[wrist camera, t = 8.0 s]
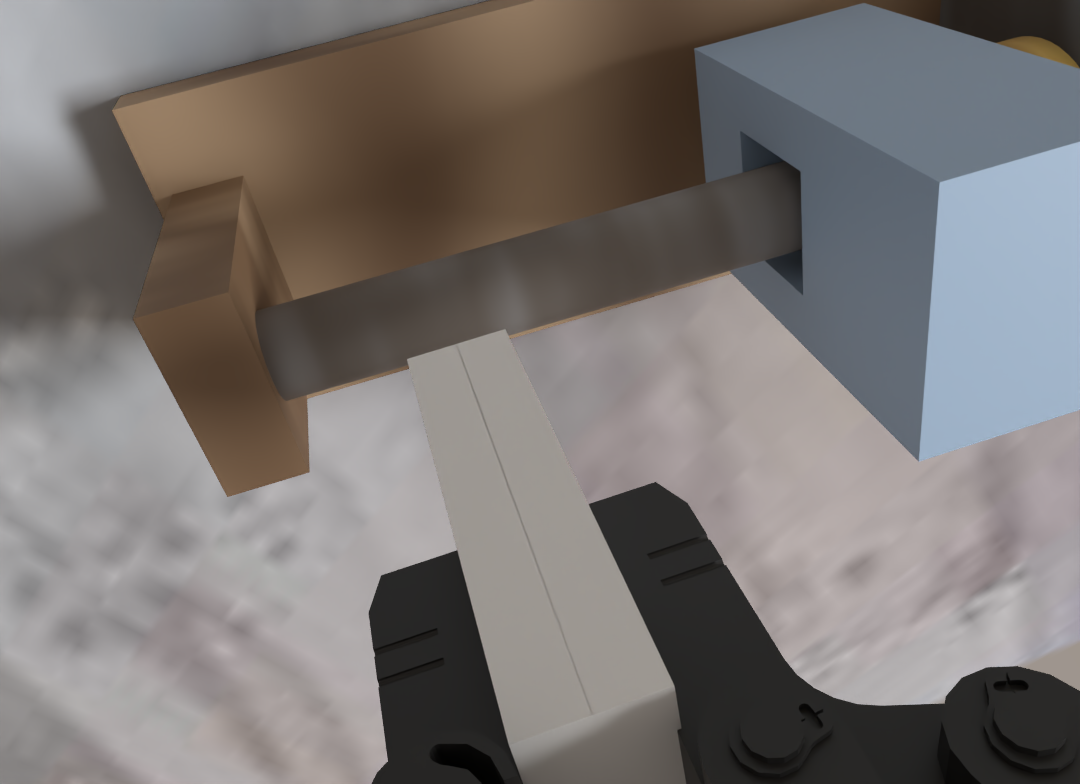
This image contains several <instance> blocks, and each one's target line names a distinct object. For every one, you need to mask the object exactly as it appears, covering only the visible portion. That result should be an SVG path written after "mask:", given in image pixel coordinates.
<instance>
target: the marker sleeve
mask: <svg viewBox="0 0 1080 784" xmlns="http://www.w3.org/2000/svg"><path fill="white" fill-rule="evenodd" d="M694 51H695V63H696V75H697V86H698V98H699V109H700V121H701V132H702V144H703V155H704V167H705V178H706V183H708V182H711V181H715V180H718V179H722V178H725V177H729V176H732V175H736V174H739V173H743V172H746V171H750V170H753V169H757V168H760V167H764V166H767V165H771V164H774V163H778V162H782V161H786V162H787V163H789V164H790V165H792V166H793V167H795V168H796V169H798V170H799V171H801V212H802V250H798V251H795V252H792V253H788V254H785V255H781V256H778V257H775V258H771V259H768V260H764V261H761V262H758V263H754V264H751V265H747V266H744V267H741V268H737V269H734V270H730V272H731V273H732V274H733V275H734V276H735V277H736V278H737V279H738V280H739V281H740V282H741V283H742V284H743V285H744V286H745V287H746V288H747V289H748V290H749V291H750V292H751V293H752V294H753V295H754V296H755V297H756V298H757V299H758V300H759V301H760V302H761V303H762V304H763V305H764V306H765V307H766V308H767V309H768V310H769V311H770V312H771V313H772V314H773V315H774V316H775V317H776V318H777V319H778V320H779V321H780V322H781V323H782V324H783V325H784V326H785V327H786V328H787V329H788V330H789V331H790V332H791V333H792V334H793V335H794V336H795V337H796V338H797V339H798V340H799V342H800V343H801V344H802V345H803V346H804V347H805V348H806V349H807V350H808V351H809V352H810V353H811V354H812V355H813V356H814V357H815V358H816V359H817V360H818V361H819V362H820V363H821V364H822V365H823V366H824V367H825V368H826V369H827V370H828V371H829V372H830V373H831V374H832V375H833V376H834V377H835V378H836V379H837V380H838V381H839V382H840V383H841V384H842V385H843V386H844V387H845V388H846V389H847V390H848V391H849V392H850V393H851V394H852V395H853V396H854V397H855V398H856V399H857V400H858V401H859V402H860V403H861V404H862V405H863V406H864V407H865V408H866V409H867V410H868V411H869V412H870V413H871V414H872V415H873V416H874V417H875V418H876V419H877V420H878V421H879V422H880V423H881V424H882V425H883V426H884V427H885V428H886V429H887V430H888V431H889V432H890V433H891V434H892V435H893V436H894V437H895V438H896V439H897V440H898V441H899V442H900V443H901V444H902V445H903V446H904V447H905V448H906V449H907V450H908V451H909V452H910V453H911V454H912V455H913V456H914V457H915V458H916V459H917V460H918V461H922V460H925V459H928V458H931V457H935V456H938V455H941V454H944V453H947V452H950V451H953V450H956V449H959V448H963V447H966V446H969V445H972V444H975V443H978V442H981V441H984V440H987V439H991V438H994V437H997V436H1000V435H1003V434H1006V433H1009V432H1012V431H1015V430H1019V429H1022V428H1025V427H1028V426H1031V425H1034V424H1037V423H1040V422H1043V421H1047V420H1050V419H1053V418H1056V417H1059V416H1062V415H1065V414H1068V413H1071V412H1075V411H1078V410H1080V69H1079V68H1075V67H1072V66H1069V65H1066V64H1062V63H1059V62H1056V61H1053V60H1049V59H1046V58H1043V57H1039V56H1036V55H1033V54H1030V53H1026V52H1023V51H1020V50H1017V49H1013V48H1010V47H1007V46H1003V45H1000V44H997V43H994V42H990V41H987V40H984V39H980V38H977V37H974V36H971V35H967V34H964V33H961V32H958V31H954V30H951V29H948V28H944V27H941V26H938V25H935V24H931V23H928V22H925V21H922V20H918V19H915V18H912V17H908V16H905V15H902V14H899V13H895V12H892V11H889V10H886V9H882V8H879V7H876V6H872V5H869V4H866V3H862V4H858V5H854V6H850V7H847V8H843V9H839V10H836V11H832V12H828V13H824V14H821V15H817V16H813V17H810V18H806V19H802V20H798V21H795V22H791V23H787V24H784V25H780V26H776V27H772V28H769V29H765V30H761V31H758V32H754V33H750V34H746V35H743V36H739V37H735V38H732V39H728V40H724V41H720V42H717V43H713V44H709V45H706V46H702V47H698V48H694Z"/></svg>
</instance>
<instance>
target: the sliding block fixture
mask: <svg viewBox="0 0 1080 784" xmlns="http://www.w3.org/2000/svg"><path fill="white" fill-rule="evenodd" d="M862 3H866V4H869V5H872V6H876V7H879V8H882V9H886V10H889V11H892V12H895V13H899V14H902V15H905V16H908V17H912V18H915V19H918V20H922V21H925V22H928V23H931V24H935V25H938V26H941V27H944V28H948V29H951V30H954V31H958V32H961V33H964V34H967V35H971V36H974V37H977V38H980V39H984V40H987V41H990V42H994V43H997V44H1000V45H1003V46H1007V47H1010V48H1013V49H1017V50H1020V51H1023V52H1026V53H1030V54H1033V55H1036V56H1039V57H1043V58H1046V59H1049V60H1053V61H1056V62H1059V63H1062V64H1066V65H1069V66H1072V67H1075V68H1079V69H1080V0H490V1H486V2H482V3H478V4H474V5H471V6H467V7H463V8H459V9H455V10H451V11H447V12H443V13H440V14H436V15H432V16H428V17H424V18H420V19H416V20H412V21H409V22H405V23H401V24H397V25H393V26H389V27H385V28H382V29H378V30H374V31H370V32H366V33H362V34H358V35H354V36H351V37H347V38H343V39H339V40H335V41H331V42H327V43H323V44H320V45H316V46H312V47H308V48H304V49H300V50H296V51H292V52H289V53H285V54H281V55H277V56H273V57H269V58H265V59H262V60H258V61H254V62H250V63H246V64H242V65H238V66H234V67H231V68H227V69H223V70H219V71H215V72H211V73H207V74H203V75H200V76H196V77H192V78H188V79H184V80H180V81H176V82H173V83H169V84H165V85H161V86H157V87H153V88H149V89H145V90H142V91H138V92H134V93H130V94H126V95H122V96H120V98H119V100H118V101H117V103H116V105H115V106H114V108H113V109H112V112H113V114H114V116H115V118H116V120H117V122H118V124H119V126H120V128H121V131H122V133H123V135H124V137H125V139H126V141H127V143H128V145H129V147H130V150H131V152H132V154H133V156H134V158H135V160H136V162H137V164H138V167H139V169H140V171H141V173H142V175H143V177H144V179H145V181H146V183H147V186H148V188H149V190H150V192H151V194H152V196H153V198H154V200H155V202H156V205H157V207H158V209H159V211H160V213H161V215H162V217H163V219H164V222H163V225H162V228H161V231H160V235H159V238H158V241H157V244H156V247H155V250H154V254H153V257H152V260H151V263H150V266H149V269H148V273H147V276H146V279H145V282H144V285H143V288H142V292H141V295H140V298H139V301H138V304H137V307H136V311H135V314H134V317H133V320H134V322H135V324H136V326H137V328H138V330H139V332H140V334H141V335H142V337H143V339H144V341H145V343H146V345H147V347H148V349H149V350H150V352H151V354H152V356H153V358H154V360H155V362H156V364H157V365H158V367H159V369H160V371H161V373H162V375H163V377H164V379H165V381H166V382H167V384H168V386H169V388H170V390H171V392H172V394H173V396H174V397H175V399H176V401H177V403H178V405H179V407H180V409H181V411H182V412H183V414H184V416H185V418H186V420H187V422H188V424H189V426H190V427H191V429H192V431H193V433H194V435H195V437H196V439H197V441H198V442H199V444H200V446H201V448H202V450H203V452H204V454H205V456H206V458H207V459H208V461H209V463H210V465H211V467H212V469H213V471H214V473H215V474H216V476H217V478H218V480H219V482H220V484H221V486H222V488H223V489H224V491H225V493H226V495H227V497H229V496H232V495H236V494H239V493H242V492H245V491H249V490H252V489H255V488H259V487H262V486H265V485H269V484H272V483H275V482H279V481H282V480H285V479H289V478H292V477H295V476H298V475H302V474H305V473H308V472H309V443H308V413H307V399H308V398H311V397H314V396H318V395H321V394H325V393H328V392H331V391H335V390H338V389H342V388H345V387H348V386H352V385H355V384H359V383H362V382H365V381H369V380H372V379H376V378H379V377H382V376H386V375H389V374H393V373H396V372H399V371H403V370H406V369H409V365H408V361H407V359H409V358H412V357H415V356H419V355H422V354H425V353H428V352H432V351H435V350H438V349H442V348H445V347H448V346H451V345H455V344H458V343H461V342H464V341H468V340H471V339H474V338H477V337H481V336H484V335H487V334H491V333H494V332H497V331H500V330H504V329H506V332H507V334H508V336H509V338H510V339H511V338H515V337H518V336H522V335H525V334H528V333H532V332H535V331H539V330H542V329H545V328H549V327H552V326H555V325H559V324H562V323H566V322H569V321H572V320H576V319H579V318H583V317H586V316H589V315H593V314H596V313H600V312H603V311H606V310H610V309H613V308H617V307H620V306H623V305H627V304H630V303H634V302H637V301H640V300H644V299H647V298H651V297H654V296H657V295H661V294H664V293H668V292H671V291H674V290H678V289H681V288H685V287H688V286H691V285H695V284H698V283H701V282H705V281H708V280H712V279H715V278H718V277H722V276H725V275H729V274H732V273H731V272H730V270H734V269H737V268H741V267H744V266H747V265H751V264H754V263H758V262H761V261H764V260H768V259H771V258H775V257H778V256H781V255H785V254H788V253H792V252H795V251H798V250H802V212H801V171H799V170H798V169H796V168H795V167H793V166H792V165H790V164H789V163H787V162H786V161H782V162H778V163H774V164H771V165H767V166H764V167H760V168H757V169H753V170H750V171H746V172H743V173H739V174H736V175H732V176H729V177H725V178H722V179H718V180H715V181H711V182H708V183H706V178H705V167H704V155H703V144H702V132H701V121H700V109H699V98H698V86H697V75H696V63H695V51H694V48H698V47H702V46H706V45H709V44H713V43H717V42H720V41H724V40H728V39H732V38H735V37H739V36H743V35H746V34H750V33H754V32H758V31H761V30H765V29H769V28H772V27H776V26H780V25H784V24H787V23H791V22H795V21H798V20H802V19H806V18H810V17H813V16H817V15H821V14H824V13H828V12H832V11H836V10H839V9H843V8H847V7H850V6H854V5H858V4H862Z"/></svg>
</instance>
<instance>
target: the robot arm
mask: <svg viewBox="0 0 1080 784" xmlns="http://www.w3.org/2000/svg"><path fill="white" fill-rule="evenodd" d="M407 361H408V365H409V369H410V373H411V377H412V380H413V384H414V388H415V392H416V396H417V399H418V403H419V407H420V411H421V414H422V418H423V422H424V426H425V430H426V433H427V437H428V441H429V445H430V448H431V452H432V456H433V460H434V464H435V467H436V471H437V475H438V479H439V483H440V486H441V490H442V494H443V498H444V501H445V505H446V509H447V513H448V517H449V520H450V524H451V528H452V532H453V536H454V539H455V543H456V547H457V551H454V552H451V553H448V554H445V555H442V556H439V557H436V558H433V559H430V560H427V561H424V562H421V563H418V564H415V565H412V566H409V567H406V568H403V569H400V570H397V571H394V572H391V573H388V574H384V575H381V578H380V581H379V584H378V587H377V590H376V593H375V595H374V598H373V601H372V604H371V607H370V610H369V619H370V627H371V635H372V642H373V650H374V652H375V657H374V658H375V665H376V673H377V680H378V683H379V696H380V703H381V711H382V719H383V726H384V734H385V741H386V749H387V757H388V762H387V763H386V764H385V765H384V766H383V767H382V768H381V769H380V770H379V771H378V772H377V774H376V776H375V778H374V780H373V782H372V784H1080V691H1079V690H1077V689H1075V688H1073V687H1071V686H1069V685H1068V684H1066V683H1064V682H1063V681H1061V680H1059V679H1057V678H1055V677H1054V676H1052V675H1050V674H1046V673H1041V672H1038V671H1034V670H1030V669H1026V668H1022V667H1018V666H1013V667H988V668H984V669H982V670H980V671H977V672H975V673H972V674H970V675H968V676H965V677H963V678H961V680H960V681H959V682H958V683H957V684H956V685H955V687H954V688H953V689H952V690H951V691H950V692H949V693H948V695H947V696H946V699H945V704H921V705H892V706H876V705H861V704H854V703H851V702H847V701H843V700H840V699H836V698H833V697H831V696H829V695H827V694H825V693H823V692H821V691H819V690H817V689H815V688H813V687H812V686H811V685H809V684H808V683H807V682H806V681H804V680H803V679H802V678H800V677H799V676H798V675H797V674H796V673H795V672H794V671H793V669H792V668H791V667H790V666H789V664H788V663H787V662H786V661H785V660H784V658H783V656H782V655H781V653H780V652H779V650H778V648H777V647H776V645H775V643H774V642H773V640H772V639H771V637H770V635H769V634H768V632H767V631H766V629H765V627H764V626H763V624H762V623H761V621H760V619H759V618H758V616H757V614H756V613H755V611H754V610H753V608H752V606H751V605H750V603H749V602H748V600H747V598H746V597H745V595H744V593H743V592H742V590H741V589H740V587H739V585H738V584H737V582H736V581H735V579H734V577H733V576H732V574H731V573H730V571H729V569H728V568H727V566H726V565H724V564H723V561H722V558H721V556H720V555H719V553H718V552H717V550H716V548H715V547H714V545H713V544H712V542H711V540H708V538H707V534H706V532H705V531H704V529H703V527H702V526H701V524H700V523H699V521H698V519H697V518H696V516H695V514H694V513H693V511H692V510H691V508H690V506H689V505H688V503H686V502H685V501H683V500H682V499H680V498H679V497H677V496H676V495H674V494H673V493H671V492H670V491H668V490H667V489H665V488H664V487H662V486H661V485H659V484H658V483H656V482H654V483H651V484H648V485H645V486H642V487H639V488H636V489H633V490H630V491H627V492H624V493H621V494H618V495H615V496H612V497H609V498H606V499H603V500H600V501H597V502H594V503H591V504H588V502H587V500H586V498H585V496H584V494H583V492H582V490H581V488H580V486H579V483H578V481H577V479H576V477H575V475H574V473H573V471H572V469H571V467H570V464H569V462H568V460H567V458H566V456H565V454H564V452H563V450H562V448H561V445H560V443H559V441H558V439H557V437H556V435H555V433H554V431H553V429H552V426H551V424H550V422H549V420H548V418H547V416H546V414H545V412H544V410H543V407H542V405H541V403H540V401H539V399H538V397H537V395H536V393H535V391H534V388H533V386H532V384H531V382H530V380H529V378H528V376H527V374H526V372H525V369H524V367H523V365H522V363H521V361H520V359H519V357H518V355H517V353H516V350H515V348H514V346H513V344H512V342H511V340H510V338H509V336H508V334H507V332H506V329H504V330H500V331H497V332H494V333H491V334H487V335H484V336H481V337H477V338H474V339H471V340H468V341H464V342H461V343H458V344H455V345H451V346H448V347H445V348H442V349H438V350H435V351H432V352H428V353H425V354H422V355H419V356H415V357H412V358H409V359H407Z"/></svg>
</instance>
